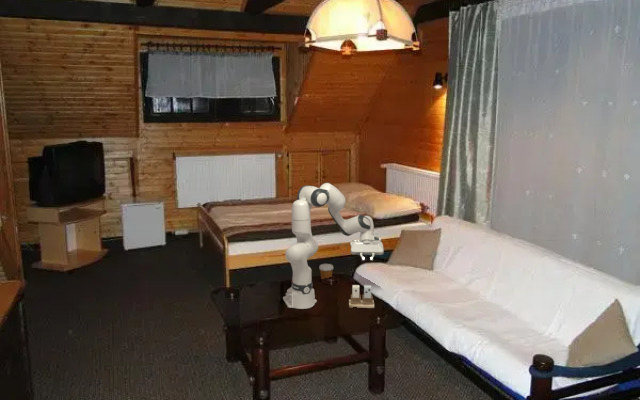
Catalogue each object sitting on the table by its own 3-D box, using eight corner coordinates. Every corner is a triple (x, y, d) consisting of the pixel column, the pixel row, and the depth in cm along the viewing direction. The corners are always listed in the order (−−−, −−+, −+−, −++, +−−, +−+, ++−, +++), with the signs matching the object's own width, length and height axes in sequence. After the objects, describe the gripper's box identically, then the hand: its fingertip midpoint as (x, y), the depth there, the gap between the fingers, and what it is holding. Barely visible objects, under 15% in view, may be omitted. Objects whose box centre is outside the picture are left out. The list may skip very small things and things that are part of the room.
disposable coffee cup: (320, 280, 360) (320, 263, 357) (334, 280, 359) (334, 263, 356) (318, 285, 351) (318, 267, 348) (332, 285, 349) (332, 268, 347)
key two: (364, 297, 320) (364, 285, 318) (370, 297, 320) (370, 285, 318) (364, 299, 316) (364, 287, 314) (371, 299, 315) (371, 288, 314)
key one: (352, 296, 320) (352, 285, 319) (359, 297, 320) (359, 285, 318) (352, 299, 316) (352, 287, 315) (359, 299, 316) (359, 287, 314)
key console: (349, 301, 324) (349, 293, 322) (373, 301, 323) (373, 293, 322) (349, 307, 315) (349, 299, 314) (374, 307, 314) (374, 299, 313)
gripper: (350, 237, 331) (350, 257, 323) (383, 238, 330) (384, 258, 322) (350, 242, 336) (350, 262, 329) (382, 243, 335) (383, 262, 328)
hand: (367, 260), depth 326 cm, fingers open, 4 cm apart
